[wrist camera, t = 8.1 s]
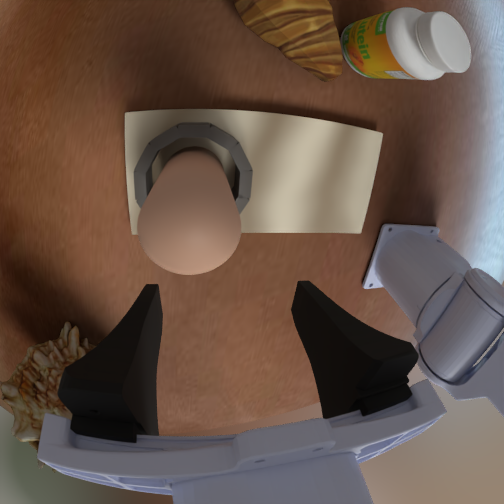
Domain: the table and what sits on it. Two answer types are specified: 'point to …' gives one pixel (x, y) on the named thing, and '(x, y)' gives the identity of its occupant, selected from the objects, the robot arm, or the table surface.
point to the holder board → (263, 165)
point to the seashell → (41, 384)
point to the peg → (190, 214)
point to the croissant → (297, 32)
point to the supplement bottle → (406, 45)
